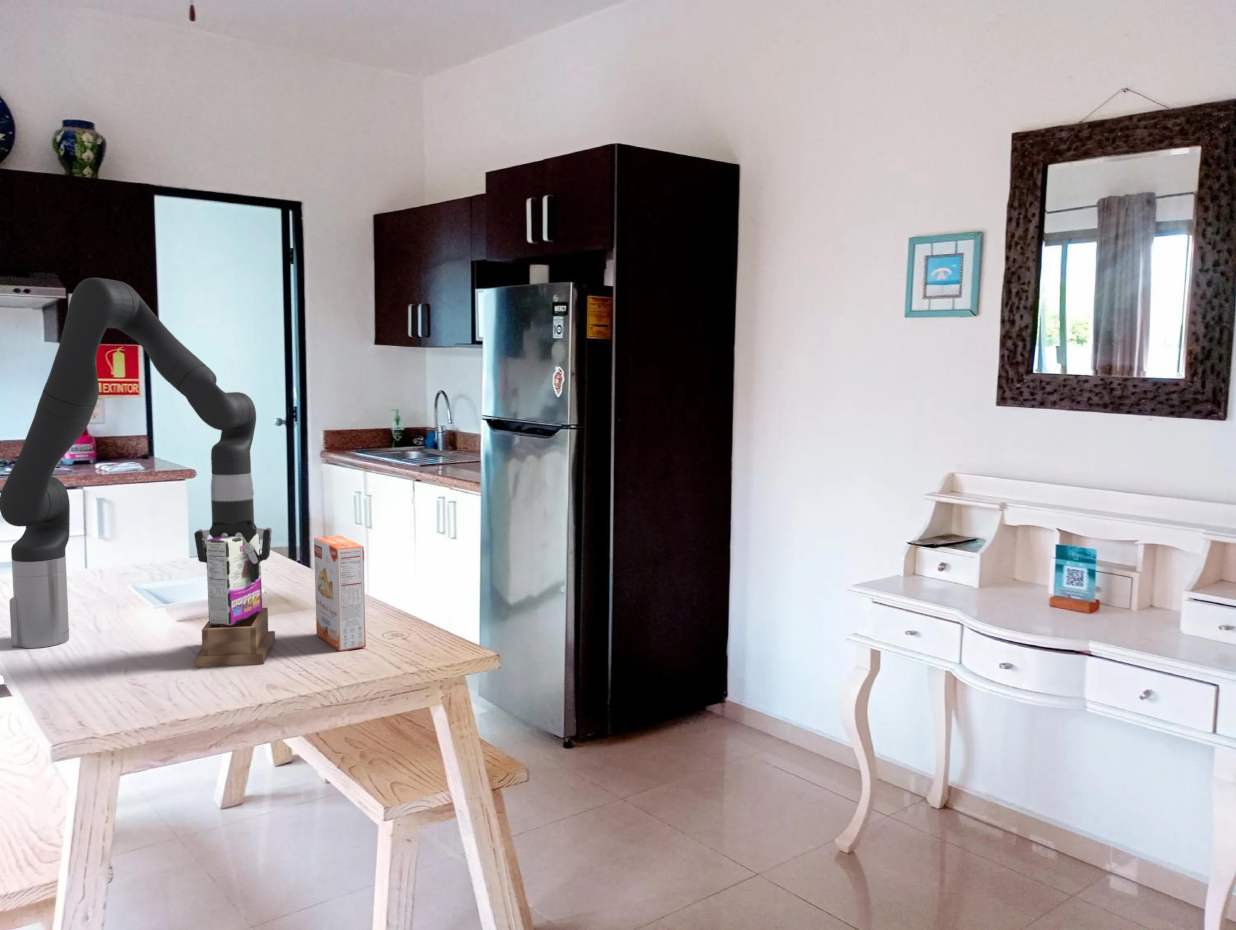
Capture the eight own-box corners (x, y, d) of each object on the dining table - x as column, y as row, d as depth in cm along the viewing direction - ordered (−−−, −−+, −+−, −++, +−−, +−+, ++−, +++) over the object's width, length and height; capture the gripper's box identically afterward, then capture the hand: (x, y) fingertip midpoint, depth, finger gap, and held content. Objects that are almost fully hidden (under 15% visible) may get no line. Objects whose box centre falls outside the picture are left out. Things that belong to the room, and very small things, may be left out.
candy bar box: (240, 609, 194) (238, 529, 192) (263, 611, 193) (261, 530, 191) (206, 624, 183) (204, 539, 181) (230, 626, 182) (228, 540, 180)
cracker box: (314, 635, 201) (312, 536, 199) (342, 631, 205) (341, 534, 203) (337, 652, 190) (335, 547, 188) (366, 647, 193) (365, 544, 191)
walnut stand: (195, 667, 179) (194, 630, 179) (212, 643, 195) (211, 609, 194) (263, 663, 182) (262, 627, 181) (275, 640, 197) (274, 606, 197)
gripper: (187, 500, 180) (191, 588, 182) (268, 498, 183) (271, 585, 185) (196, 495, 187) (199, 579, 189) (274, 493, 190) (277, 577, 192)
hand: (235, 582), depth 187 cm, fingers closed on candy bar box, 6 cm apart
